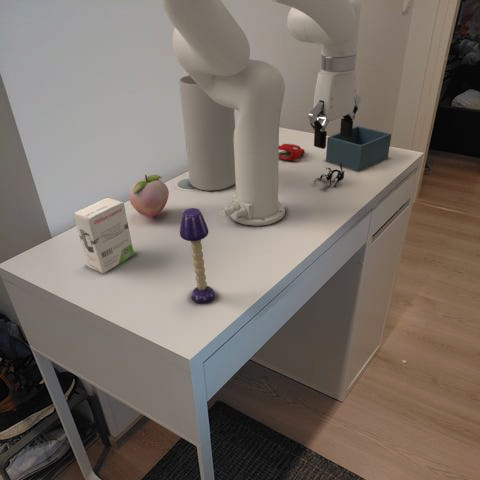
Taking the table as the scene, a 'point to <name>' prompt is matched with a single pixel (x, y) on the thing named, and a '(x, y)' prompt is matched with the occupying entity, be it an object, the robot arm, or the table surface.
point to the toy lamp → (197, 251)
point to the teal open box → (358, 148)
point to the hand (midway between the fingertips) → (333, 141)
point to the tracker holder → (291, 151)
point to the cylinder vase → (207, 138)
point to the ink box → (104, 234)
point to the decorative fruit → (149, 195)
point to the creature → (329, 177)
